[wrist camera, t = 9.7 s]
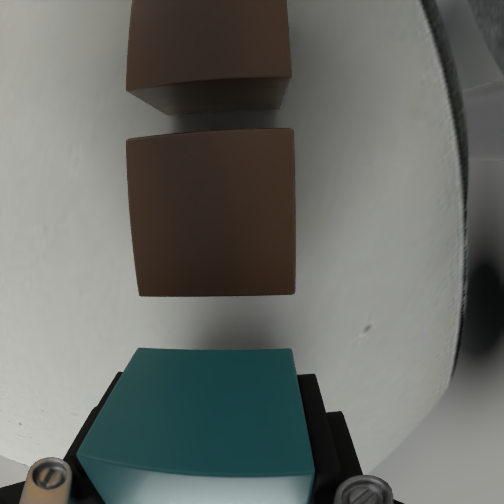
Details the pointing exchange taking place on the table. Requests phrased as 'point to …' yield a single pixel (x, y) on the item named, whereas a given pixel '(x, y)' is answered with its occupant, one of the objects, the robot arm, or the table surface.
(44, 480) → the robot arm
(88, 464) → the teal block
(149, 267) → the line block
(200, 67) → the line block
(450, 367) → the table surface
